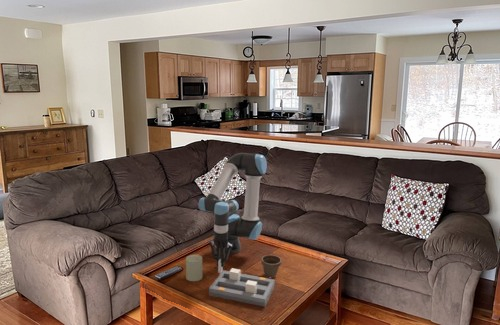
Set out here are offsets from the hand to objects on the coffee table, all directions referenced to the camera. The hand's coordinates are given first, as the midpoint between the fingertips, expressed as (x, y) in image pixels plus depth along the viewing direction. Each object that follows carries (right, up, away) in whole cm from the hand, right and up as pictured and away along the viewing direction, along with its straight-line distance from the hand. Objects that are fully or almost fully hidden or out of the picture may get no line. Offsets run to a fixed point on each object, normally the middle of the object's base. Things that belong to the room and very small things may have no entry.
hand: (220, 271), depth 204 cm
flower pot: (+28, -5, +10) cm, 30 cm away
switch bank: (+12, -8, -7) cm, 16 cm away
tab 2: (+17, -8, -13) cm, 23 cm away
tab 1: (+8, -5, -2) cm, 9 cm away
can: (-15, -5, +5) cm, 17 cm away
